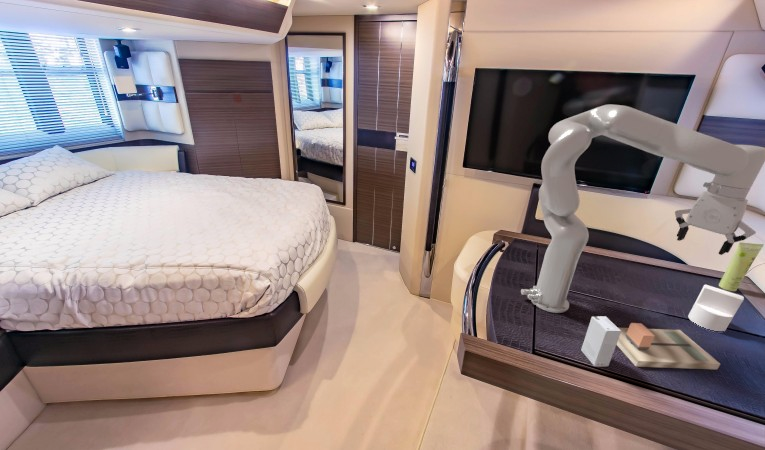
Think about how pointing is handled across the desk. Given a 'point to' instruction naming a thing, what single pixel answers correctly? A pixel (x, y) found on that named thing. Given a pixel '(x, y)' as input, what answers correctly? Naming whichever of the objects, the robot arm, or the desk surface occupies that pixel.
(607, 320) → the skincare box
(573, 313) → the desk surface
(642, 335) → the fader tab
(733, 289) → the tube
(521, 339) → the desk surface
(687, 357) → the fader board
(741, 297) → the cylinder with rectangular tab
